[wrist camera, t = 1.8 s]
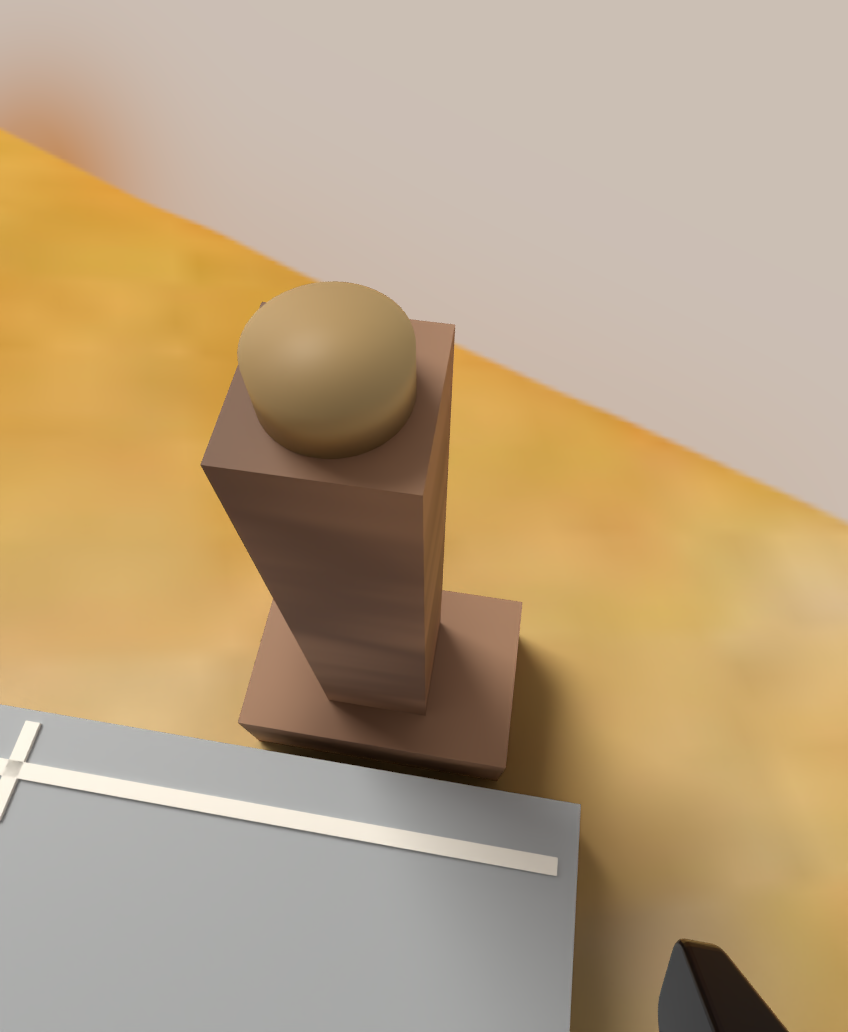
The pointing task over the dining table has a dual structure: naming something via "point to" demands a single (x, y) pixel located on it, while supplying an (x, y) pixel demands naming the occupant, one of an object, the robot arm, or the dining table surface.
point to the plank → (270, 891)
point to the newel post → (358, 538)
